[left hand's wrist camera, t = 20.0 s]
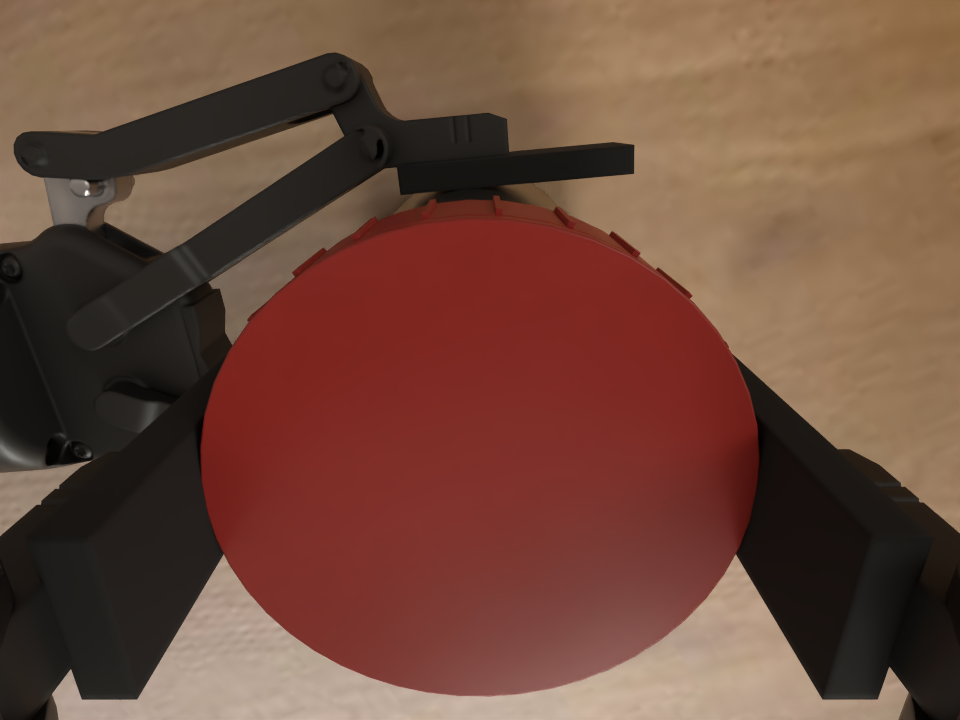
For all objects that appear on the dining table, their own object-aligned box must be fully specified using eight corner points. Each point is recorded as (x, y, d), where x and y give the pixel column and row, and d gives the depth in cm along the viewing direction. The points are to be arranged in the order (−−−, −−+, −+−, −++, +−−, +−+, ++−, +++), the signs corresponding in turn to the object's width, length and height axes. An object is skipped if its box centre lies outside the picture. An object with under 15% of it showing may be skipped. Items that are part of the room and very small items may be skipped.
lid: (175, 244, 11) (99, 275, 9) (706, 148, 10) (767, 155, 8) (318, 634, 14) (289, 725, 12) (718, 580, 14) (764, 666, 11)
